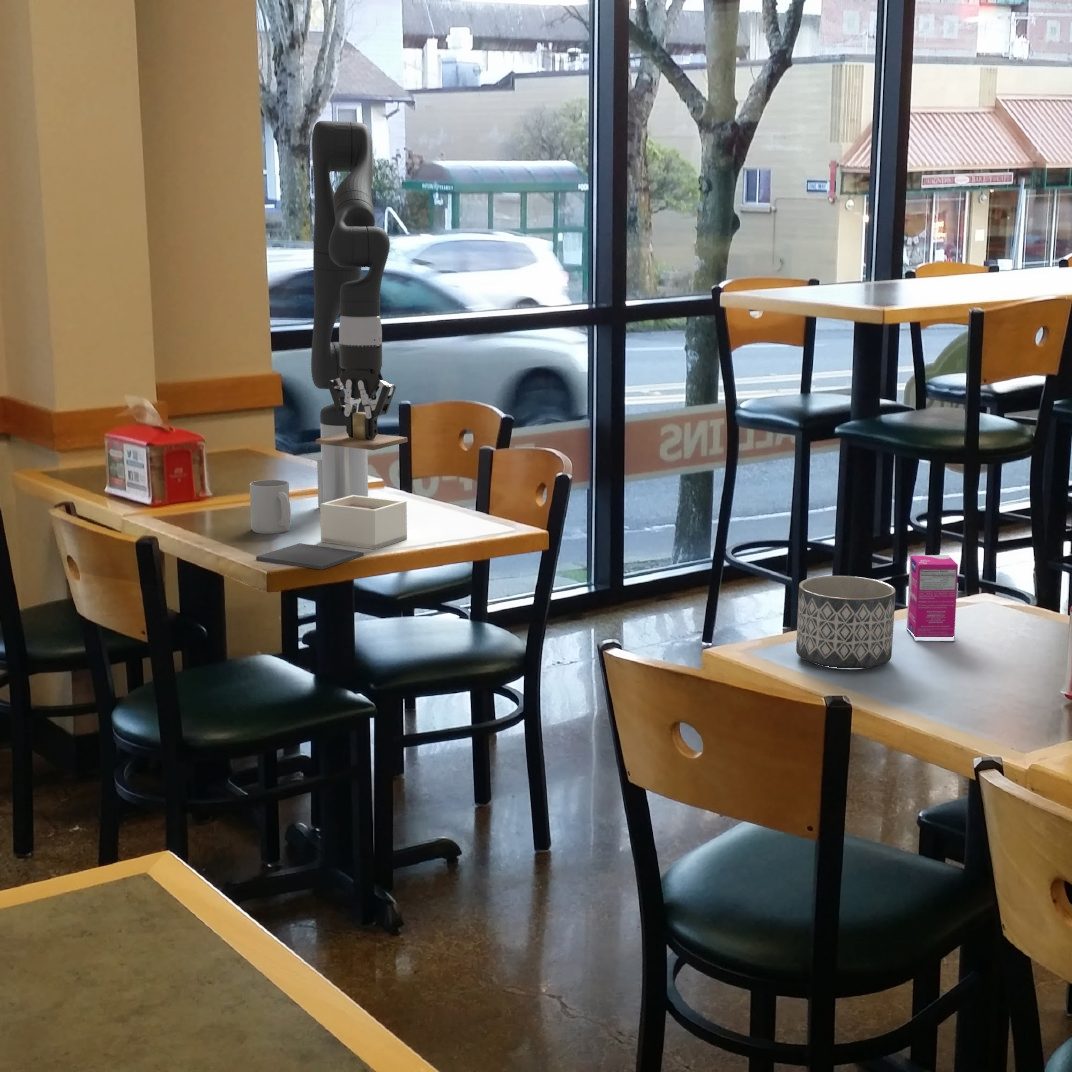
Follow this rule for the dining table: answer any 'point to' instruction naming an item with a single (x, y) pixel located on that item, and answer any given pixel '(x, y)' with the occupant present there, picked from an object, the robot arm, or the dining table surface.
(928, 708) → the dining table surface
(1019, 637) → the dining table surface
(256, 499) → the cup
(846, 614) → the planter
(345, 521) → the tea box
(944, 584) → the supplement box
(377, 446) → the lid
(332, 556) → the mat
